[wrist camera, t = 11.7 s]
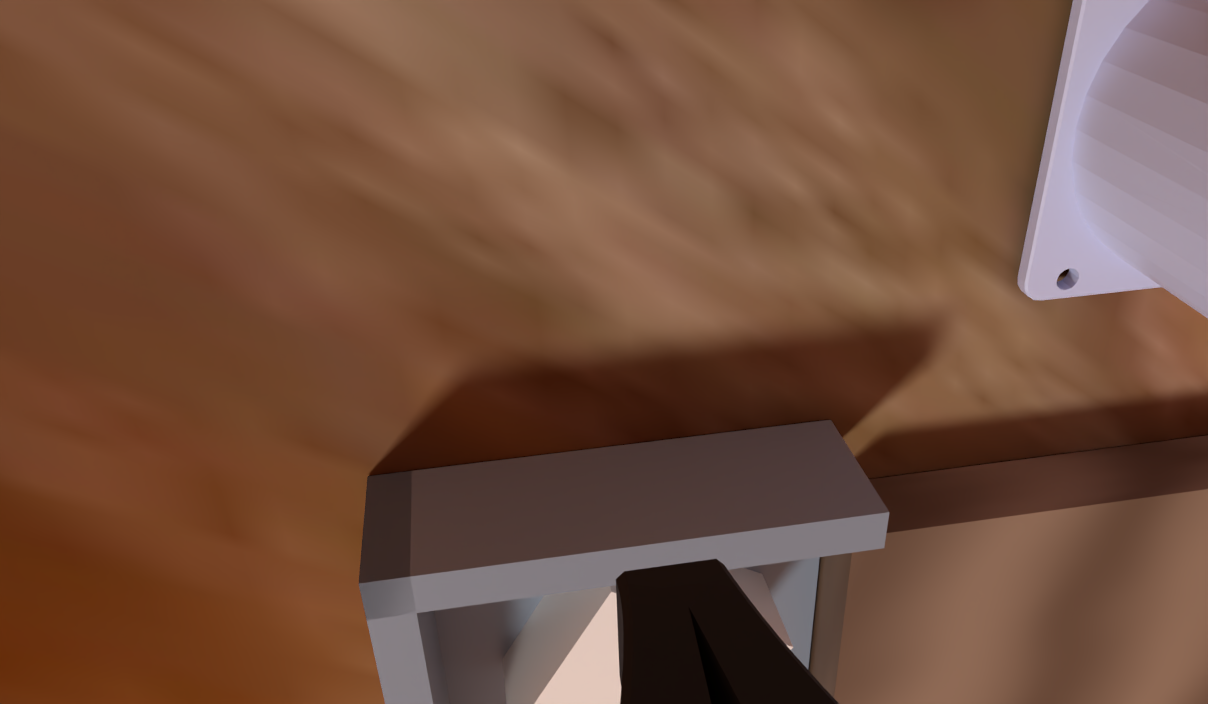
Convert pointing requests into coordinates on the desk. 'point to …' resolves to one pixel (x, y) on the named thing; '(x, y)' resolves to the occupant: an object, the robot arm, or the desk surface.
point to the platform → (1027, 585)
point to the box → (594, 540)
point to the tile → (590, 645)
